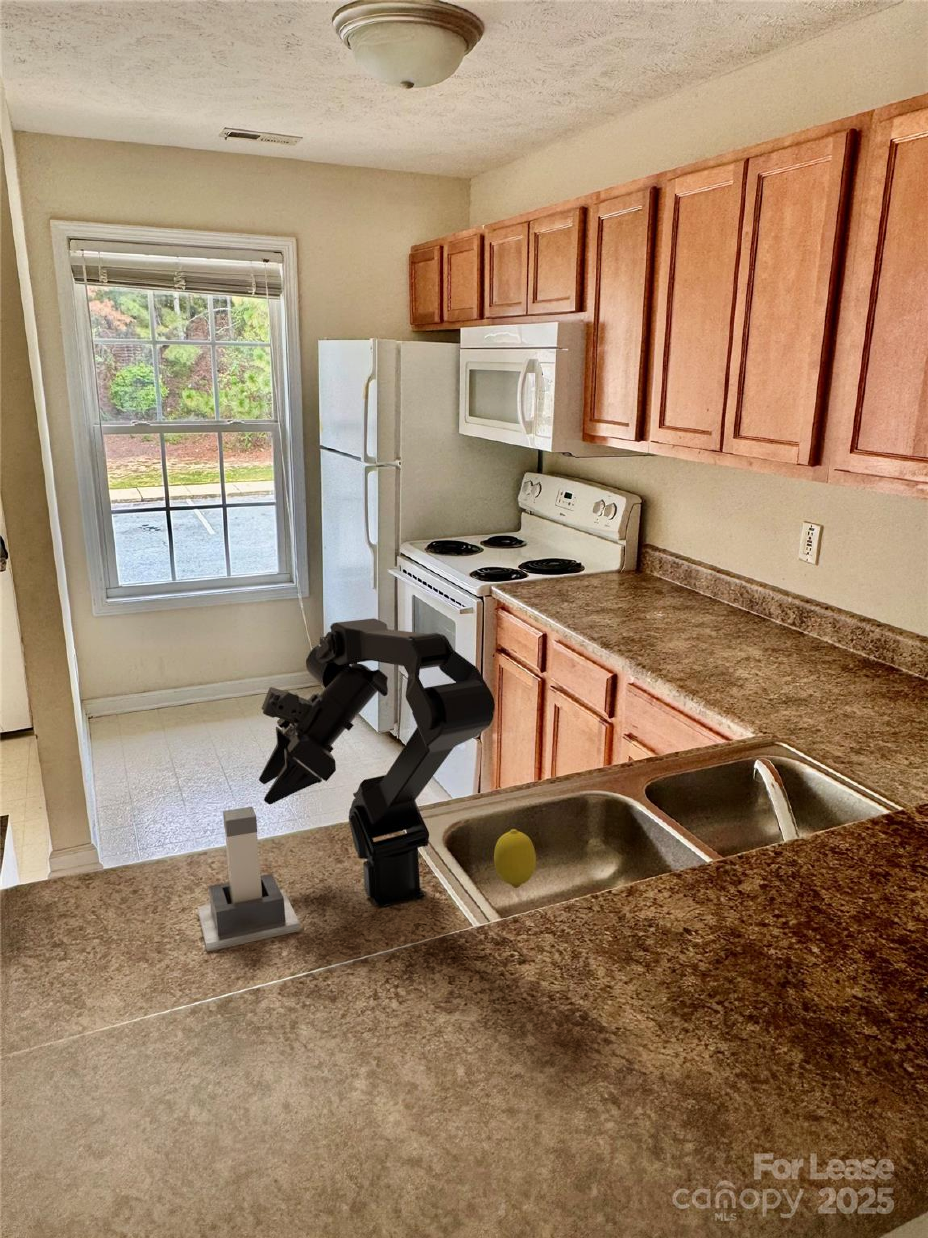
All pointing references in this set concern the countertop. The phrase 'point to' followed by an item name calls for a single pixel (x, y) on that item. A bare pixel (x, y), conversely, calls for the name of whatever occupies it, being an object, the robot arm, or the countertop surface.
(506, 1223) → the countertop surface
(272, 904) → the socket plate
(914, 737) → the countertop surface
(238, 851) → the plug block
